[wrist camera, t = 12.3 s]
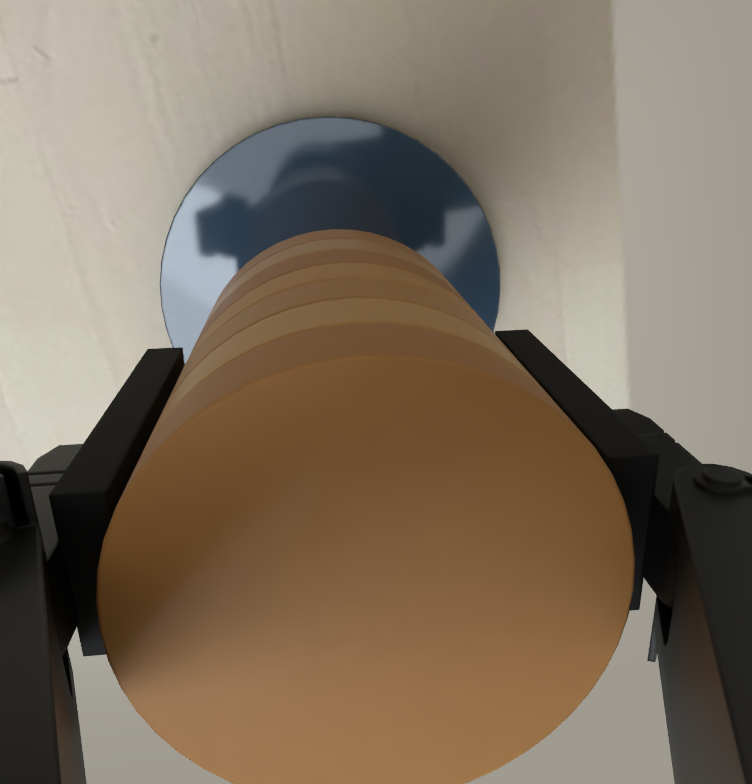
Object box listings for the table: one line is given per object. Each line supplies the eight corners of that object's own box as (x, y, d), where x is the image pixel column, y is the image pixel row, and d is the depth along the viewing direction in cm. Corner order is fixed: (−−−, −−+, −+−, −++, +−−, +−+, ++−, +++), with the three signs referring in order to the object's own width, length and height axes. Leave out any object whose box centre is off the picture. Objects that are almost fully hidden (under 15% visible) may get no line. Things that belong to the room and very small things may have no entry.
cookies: (477, 223, 17) (666, 339, 8) (470, 478, 20) (611, 782, 11) (185, 234, 17) (44, 371, 8) (217, 495, 19) (138, 830, 10)
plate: (499, 111, 24) (507, 111, 23) (488, 431, 29) (494, 441, 28) (142, 121, 23) (135, 121, 23) (186, 449, 28) (182, 461, 27)
